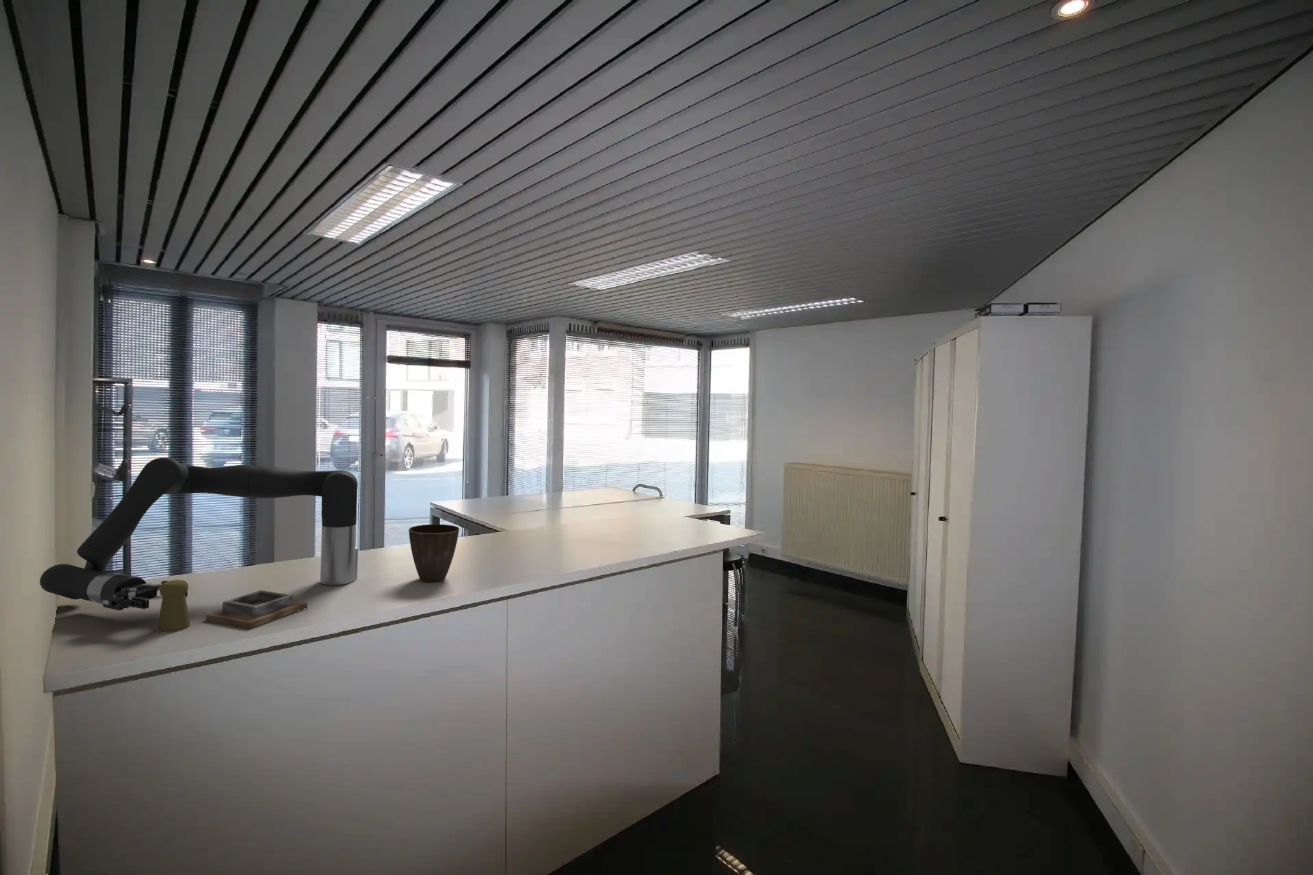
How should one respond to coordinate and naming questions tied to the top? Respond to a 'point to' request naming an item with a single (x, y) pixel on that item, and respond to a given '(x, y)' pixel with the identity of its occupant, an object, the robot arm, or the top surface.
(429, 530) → the plant pot
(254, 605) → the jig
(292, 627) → the top surface
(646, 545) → the top surface
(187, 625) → the cork
